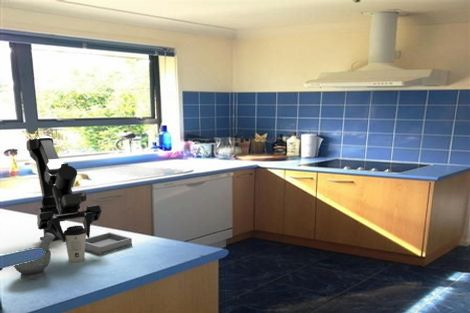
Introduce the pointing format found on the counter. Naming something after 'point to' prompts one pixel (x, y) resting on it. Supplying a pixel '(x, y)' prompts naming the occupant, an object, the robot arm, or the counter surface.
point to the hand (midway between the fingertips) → (76, 239)
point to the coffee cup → (75, 242)
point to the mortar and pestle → (36, 262)
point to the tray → (107, 243)
